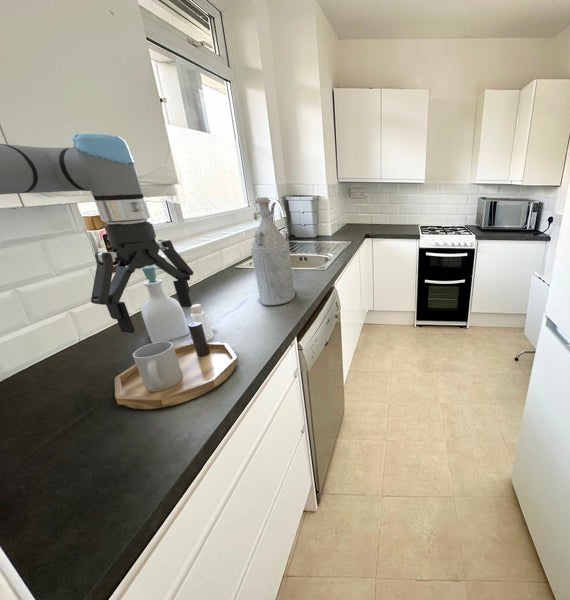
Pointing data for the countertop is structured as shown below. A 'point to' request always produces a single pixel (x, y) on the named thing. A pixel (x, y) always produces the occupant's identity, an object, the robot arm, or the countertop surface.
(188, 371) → the tray
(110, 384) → the countertop surface
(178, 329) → the soap bottle
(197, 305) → the salt shaker
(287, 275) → the grey jug bottle
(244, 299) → the countertop surface
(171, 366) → the cup
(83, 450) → the countertop surface
